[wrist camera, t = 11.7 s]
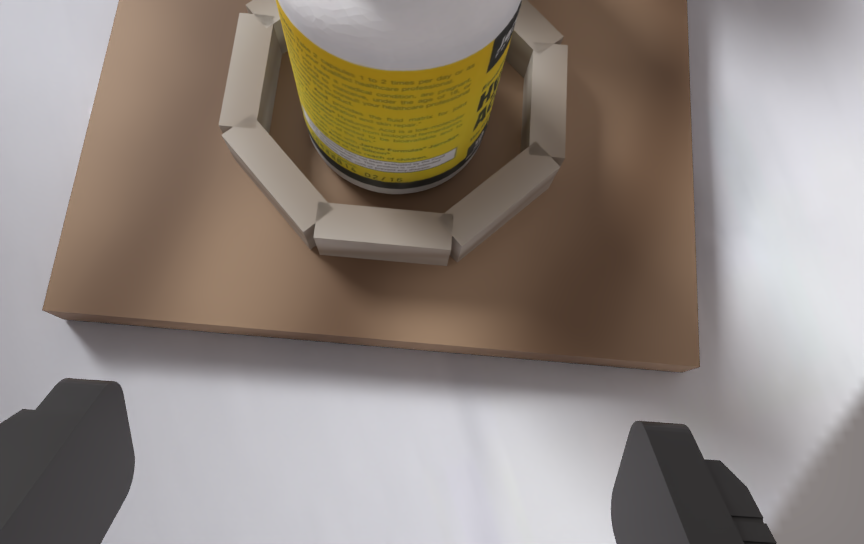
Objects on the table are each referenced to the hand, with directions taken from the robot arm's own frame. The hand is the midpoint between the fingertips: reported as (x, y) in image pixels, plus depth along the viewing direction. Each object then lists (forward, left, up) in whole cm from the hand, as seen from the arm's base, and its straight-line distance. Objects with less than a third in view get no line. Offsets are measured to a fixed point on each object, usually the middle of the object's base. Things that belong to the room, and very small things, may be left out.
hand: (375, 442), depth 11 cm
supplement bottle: (-1, +10, -7) cm, 12 cm away
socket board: (-1, +10, -8) cm, 13 cm away
